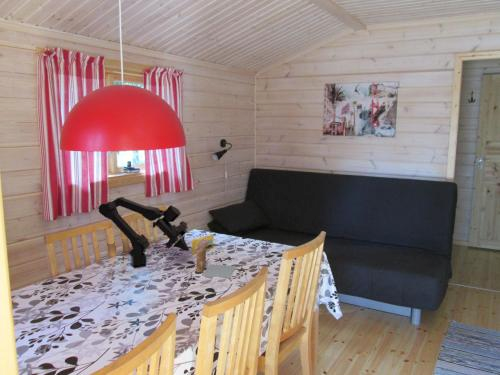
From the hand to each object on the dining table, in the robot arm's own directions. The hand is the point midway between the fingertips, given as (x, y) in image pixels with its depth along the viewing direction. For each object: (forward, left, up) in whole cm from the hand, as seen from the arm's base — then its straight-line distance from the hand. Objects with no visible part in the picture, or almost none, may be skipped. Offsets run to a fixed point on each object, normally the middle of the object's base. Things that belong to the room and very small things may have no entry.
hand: (188, 250), depth 217 cm
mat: (+12, -11, -10) cm, 19 cm away
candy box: (+20, +24, -10) cm, 33 cm away
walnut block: (+5, -4, -10) cm, 12 cm away
